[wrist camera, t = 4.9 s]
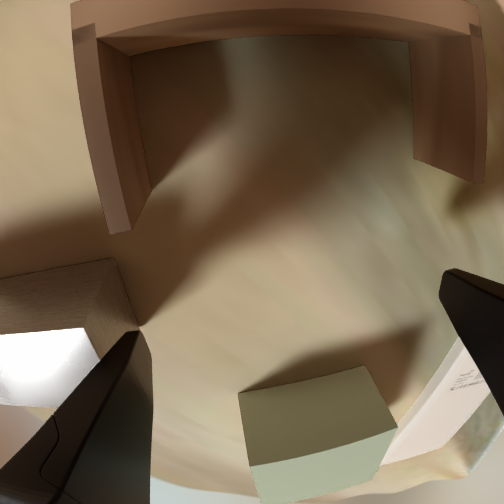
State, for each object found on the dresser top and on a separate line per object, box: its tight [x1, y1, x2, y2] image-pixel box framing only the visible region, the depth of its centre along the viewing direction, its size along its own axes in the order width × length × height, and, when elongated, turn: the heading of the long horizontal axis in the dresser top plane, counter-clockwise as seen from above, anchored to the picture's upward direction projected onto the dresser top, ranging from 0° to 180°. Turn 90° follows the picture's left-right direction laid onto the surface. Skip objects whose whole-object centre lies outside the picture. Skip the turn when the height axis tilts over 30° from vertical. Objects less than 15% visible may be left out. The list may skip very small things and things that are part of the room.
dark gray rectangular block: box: [0, 258, 140, 408], centre depth 9 cm, size 7×3×4 cm, turn 97°
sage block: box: [238, 365, 398, 504], centre depth 13 cm, size 6×6×4 cm
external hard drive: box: [380, 336, 491, 466], centre depth 18 cm, size 2×8×12 cm
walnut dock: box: [70, 0, 487, 234], centre depth 7 cm, size 10×5×3 cm, turn 97°
